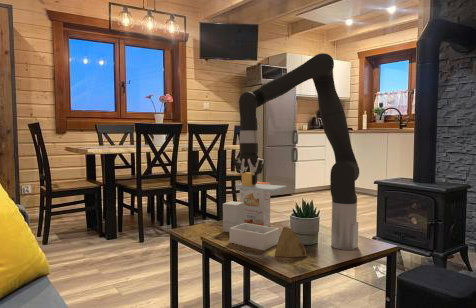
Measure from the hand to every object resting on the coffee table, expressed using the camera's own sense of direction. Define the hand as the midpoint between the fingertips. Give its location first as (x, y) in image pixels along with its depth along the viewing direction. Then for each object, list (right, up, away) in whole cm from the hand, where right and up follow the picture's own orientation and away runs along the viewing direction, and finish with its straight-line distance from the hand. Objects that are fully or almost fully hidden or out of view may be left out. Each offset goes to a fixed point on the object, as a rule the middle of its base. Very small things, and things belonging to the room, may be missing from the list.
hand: (248, 183), depth 153 cm
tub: (+2, -23, -5) cm, 24 cm away
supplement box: (-6, -22, +15) cm, 27 cm away
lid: (+4, -3, -2) cm, 5 cm away
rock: (+14, -24, -20) cm, 34 cm away
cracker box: (+3, -22, +25) cm, 33 cm away
